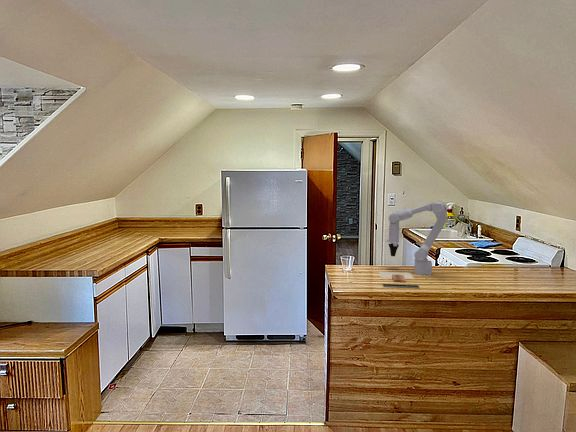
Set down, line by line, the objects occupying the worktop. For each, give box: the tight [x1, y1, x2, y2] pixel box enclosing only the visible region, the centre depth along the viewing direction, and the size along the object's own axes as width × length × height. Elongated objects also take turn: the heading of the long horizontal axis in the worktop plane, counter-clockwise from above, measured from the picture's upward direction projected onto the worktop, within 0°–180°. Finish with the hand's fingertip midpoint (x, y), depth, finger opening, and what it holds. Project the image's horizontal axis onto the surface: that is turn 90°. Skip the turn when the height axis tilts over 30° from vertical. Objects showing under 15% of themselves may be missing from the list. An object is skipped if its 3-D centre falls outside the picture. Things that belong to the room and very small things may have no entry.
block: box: [391, 274, 407, 283], centre depth 225 cm, size 6×8×2 cm
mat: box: [382, 283, 420, 289], centre depth 222 cm, size 18×14×1 cm
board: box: [377, 271, 415, 280], centre depth 236 cm, size 18×13×1 cm
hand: (393, 256), depth 247 cm, fingers closed
